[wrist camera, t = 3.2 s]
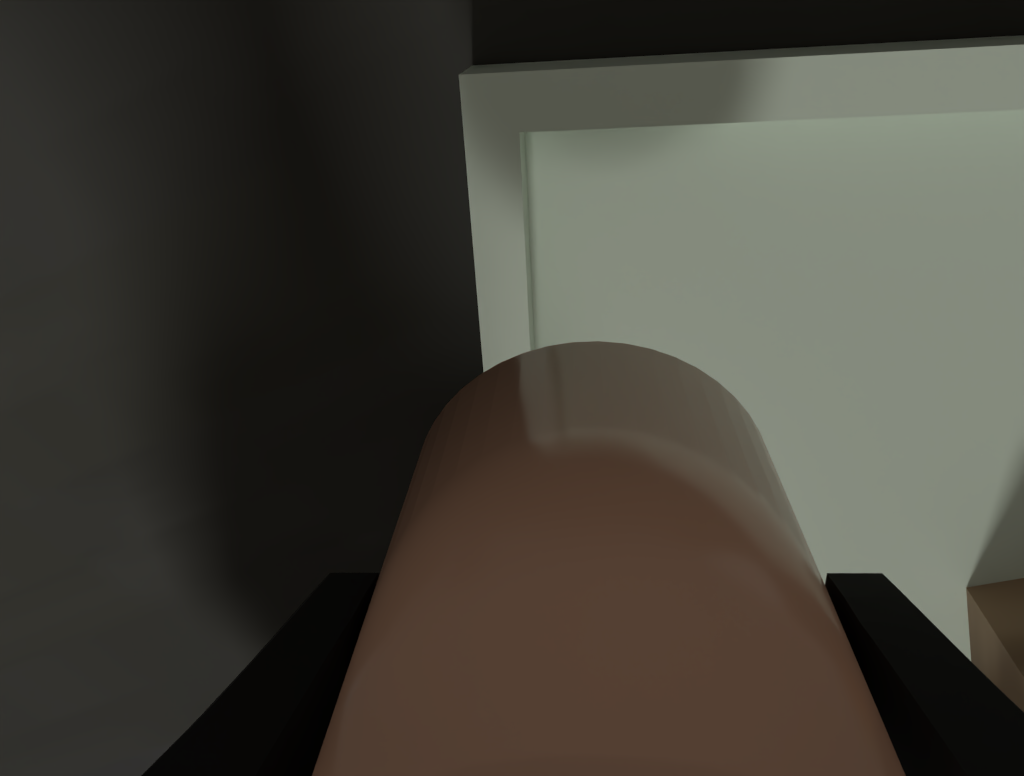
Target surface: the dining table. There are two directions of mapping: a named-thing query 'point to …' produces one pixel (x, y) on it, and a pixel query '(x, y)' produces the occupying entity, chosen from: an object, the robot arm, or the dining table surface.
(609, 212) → the tray
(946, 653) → the robot arm
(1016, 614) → the walnut block
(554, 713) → the tan cylinder
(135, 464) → the dining table surface
